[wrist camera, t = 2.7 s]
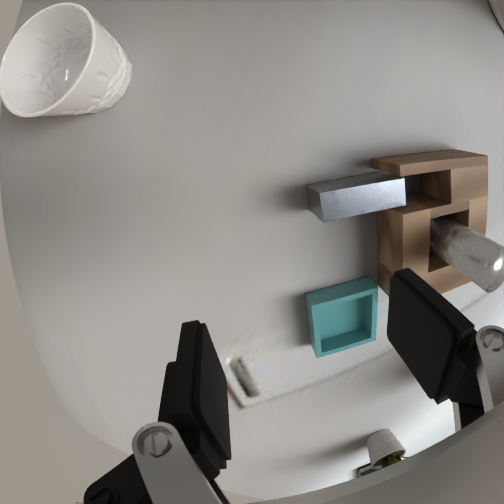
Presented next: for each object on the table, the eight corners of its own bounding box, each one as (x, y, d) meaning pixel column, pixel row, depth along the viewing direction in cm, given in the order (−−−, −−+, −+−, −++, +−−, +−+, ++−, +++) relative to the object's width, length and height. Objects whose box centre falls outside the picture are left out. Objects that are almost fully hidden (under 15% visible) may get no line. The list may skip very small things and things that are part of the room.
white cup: (152, 90, 21) (112, 65, 12) (79, 135, 22) (15, 142, 13) (121, 25, 18) (77, -18, 9) (53, 71, 19) (-10, 56, 10)
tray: (304, 293, 30) (311, 305, 28) (367, 276, 30) (377, 287, 28) (311, 344, 33) (316, 357, 31) (367, 327, 33) (375, 339, 31)
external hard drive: (358, 479, 55) (360, 484, 53) (357, 466, 51) (359, 472, 49) (382, 469, 55) (384, 474, 53) (384, 455, 51) (387, 461, 49)
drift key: (305, 184, 26) (319, 193, 22) (382, 171, 26) (404, 178, 22) (309, 210, 27) (323, 222, 23) (384, 195, 27) (405, 204, 23)
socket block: (371, 158, 25) (399, 165, 21) (457, 149, 26) (487, 155, 21) (378, 285, 31) (400, 309, 26) (454, 260, 31) (479, 277, 26)
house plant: (337, 464, 48) (357, 525, 33) (339, 435, 42) (366, 510, 27) (397, 441, 48) (424, 497, 33) (410, 408, 43) (446, 473, 28)
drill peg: (408, 210, 28) (487, 254, 17) (435, 204, 28) (513, 243, 17) (408, 245, 29) (479, 298, 18) (434, 238, 29) (505, 284, 18)
